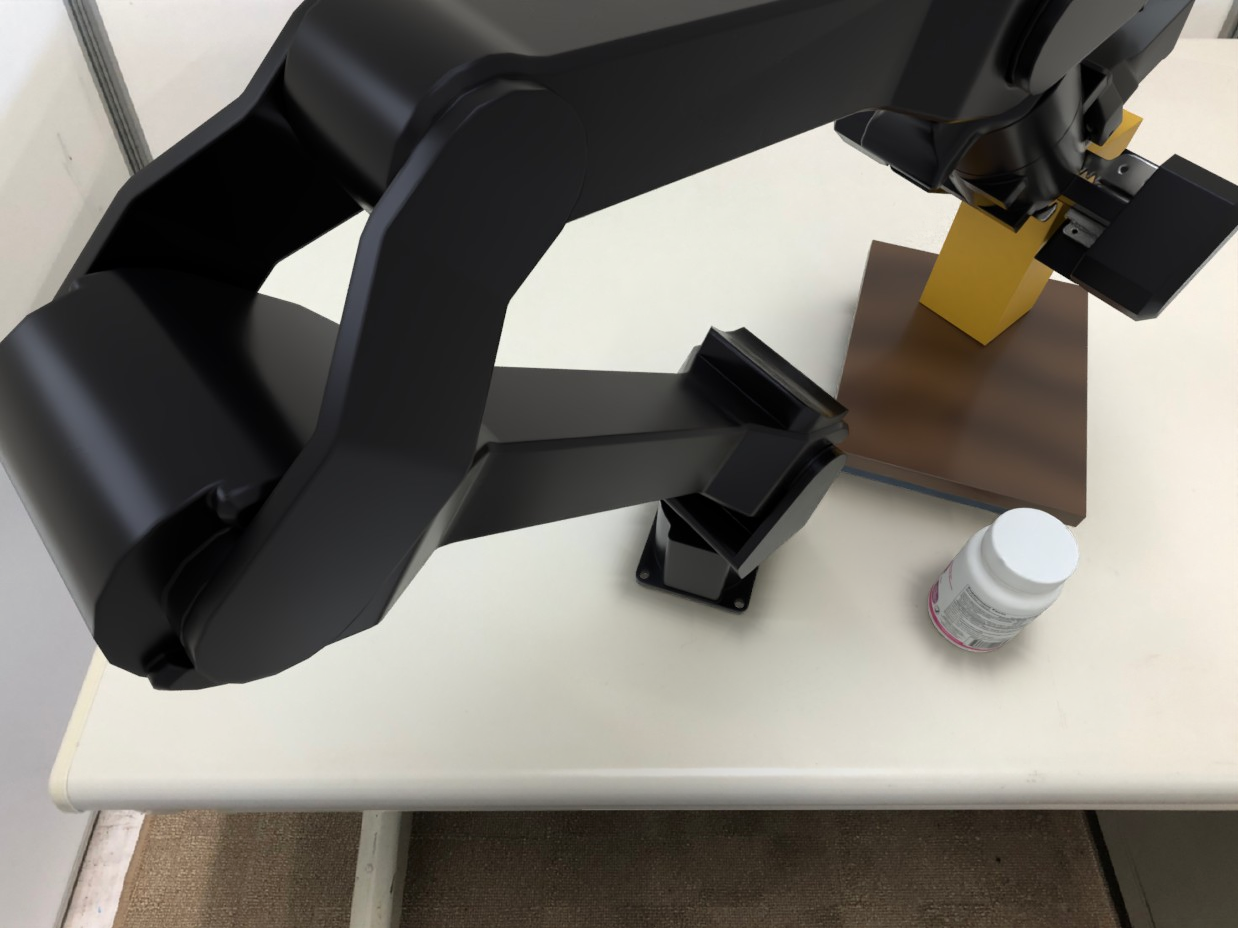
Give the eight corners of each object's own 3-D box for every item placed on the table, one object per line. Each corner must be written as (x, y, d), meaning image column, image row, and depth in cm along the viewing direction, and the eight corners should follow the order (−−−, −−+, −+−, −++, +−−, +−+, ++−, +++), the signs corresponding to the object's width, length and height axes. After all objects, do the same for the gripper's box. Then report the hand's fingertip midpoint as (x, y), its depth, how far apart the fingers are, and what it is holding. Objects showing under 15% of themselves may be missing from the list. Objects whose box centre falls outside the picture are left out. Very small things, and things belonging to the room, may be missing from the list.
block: (984, 346, 48) (1088, 157, 37) (918, 301, 50) (999, 111, 40) (1032, 308, 50) (1144, 118, 39) (966, 266, 52) (1055, 76, 41)
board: (1045, 556, 46) (1086, 517, 42) (807, 490, 48) (825, 447, 44) (1054, 336, 55) (1088, 286, 51) (854, 289, 57) (872, 239, 54)
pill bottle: (948, 558, 46) (1010, 482, 39) (1026, 607, 44) (1106, 537, 37) (909, 618, 44) (967, 549, 37) (989, 672, 42) (1066, 610, 35)
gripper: (1422, 5, 25) (1315, 162, 39) (946, -175, 33) (993, 8, 46) (1155, 296, 29) (1141, 348, 42) (783, 74, 37) (870, 177, 50)
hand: (1032, 209), depth 45 cm, fingers closed on block, 5 cm apart
